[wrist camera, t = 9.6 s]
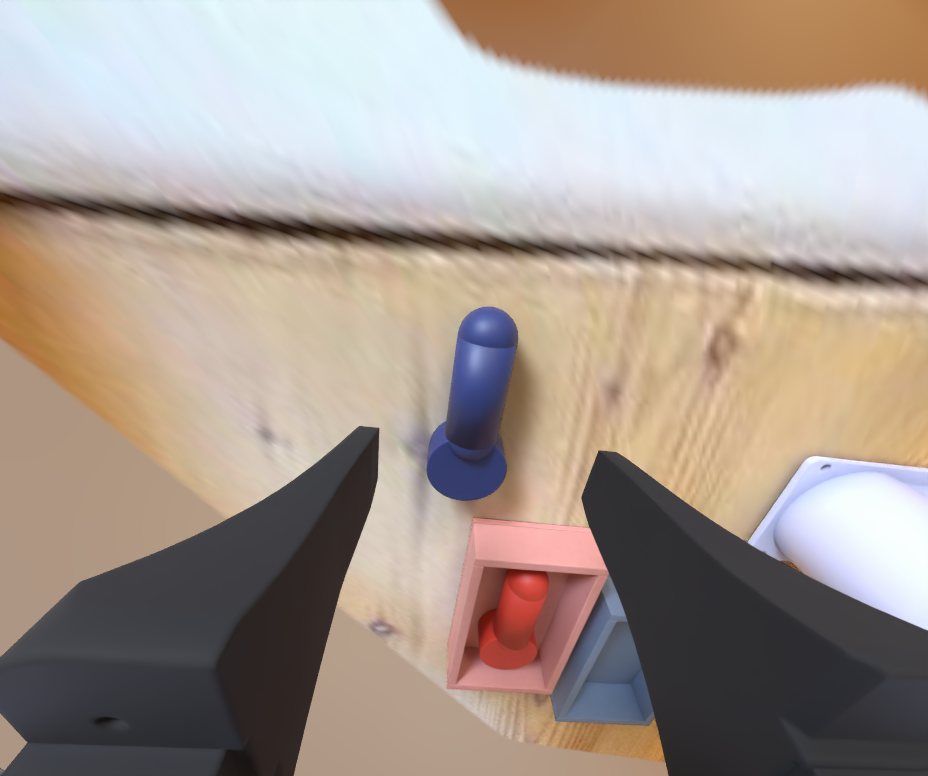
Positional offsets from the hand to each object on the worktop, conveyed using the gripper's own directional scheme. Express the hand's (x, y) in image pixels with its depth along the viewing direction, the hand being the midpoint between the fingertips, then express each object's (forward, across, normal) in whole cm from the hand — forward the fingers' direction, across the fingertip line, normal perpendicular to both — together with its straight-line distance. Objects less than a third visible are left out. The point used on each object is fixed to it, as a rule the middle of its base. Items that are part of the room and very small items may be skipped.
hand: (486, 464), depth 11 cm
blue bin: (+6, -14, +20) cm, 25 cm away
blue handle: (+7, 0, +1) cm, 7 cm away
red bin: (+6, -5, +16) cm, 18 cm away
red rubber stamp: (+6, -5, +16) cm, 18 cm away
